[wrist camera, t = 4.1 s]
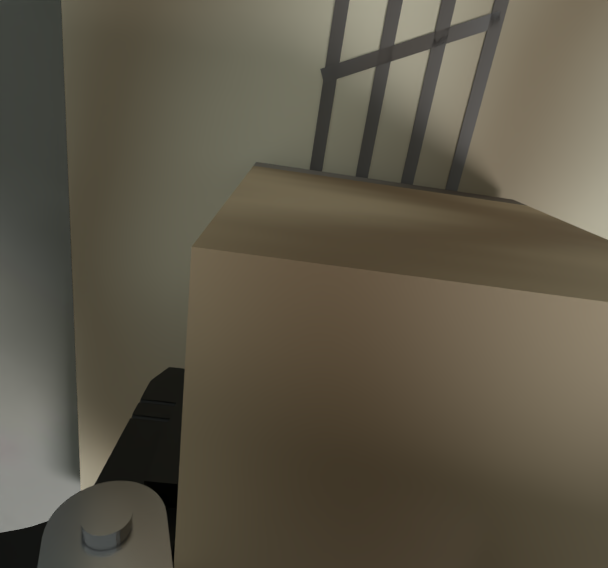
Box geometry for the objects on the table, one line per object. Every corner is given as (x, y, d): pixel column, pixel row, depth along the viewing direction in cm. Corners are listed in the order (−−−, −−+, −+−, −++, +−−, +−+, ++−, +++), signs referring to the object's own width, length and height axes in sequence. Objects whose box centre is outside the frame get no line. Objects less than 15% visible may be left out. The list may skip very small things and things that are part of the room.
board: (1430, -652, 6) (1691, -828, 5) (674, 549, 14) (706, 587, 13) (68, -1113, 5) (-1, -1485, 4) (100, 492, 13) (82, 529, 12)
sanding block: (512, 199, 9) (819, 330, 4) (408, 533, 12) (490, 852, 7) (255, 161, 8) (191, 246, 3) (219, 515, 12) (158, 837, 6)
